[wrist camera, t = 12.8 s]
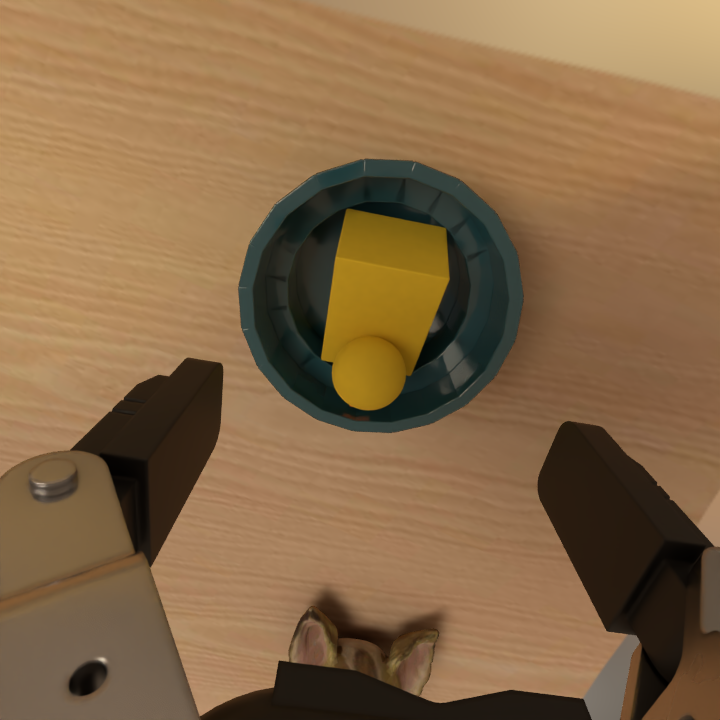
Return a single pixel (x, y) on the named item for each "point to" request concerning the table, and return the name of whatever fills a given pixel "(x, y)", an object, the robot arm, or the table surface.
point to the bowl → (314, 279)
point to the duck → (382, 304)
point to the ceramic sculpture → (365, 652)
